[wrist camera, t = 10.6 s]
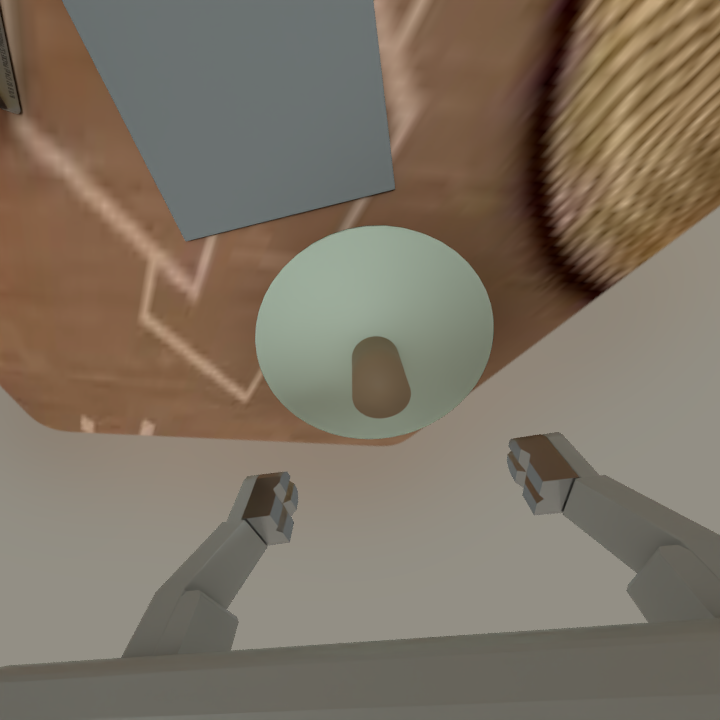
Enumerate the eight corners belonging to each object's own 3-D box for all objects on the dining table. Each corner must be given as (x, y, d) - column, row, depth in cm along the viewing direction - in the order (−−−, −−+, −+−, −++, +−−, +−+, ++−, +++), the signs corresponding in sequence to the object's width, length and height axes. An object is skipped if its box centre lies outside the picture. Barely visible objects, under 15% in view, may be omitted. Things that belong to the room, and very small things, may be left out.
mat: (338, -283, 11) (338, -301, 11) (394, 189, 20) (395, 188, 20) (-3, -138, 13) (-15, -150, 13) (188, 240, 22) (185, 241, 22)
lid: (491, 192, 13) (562, 184, 9) (482, 411, 20) (518, 464, 16) (216, 261, 14) (157, 284, 10) (304, 443, 22) (292, 501, 17)
